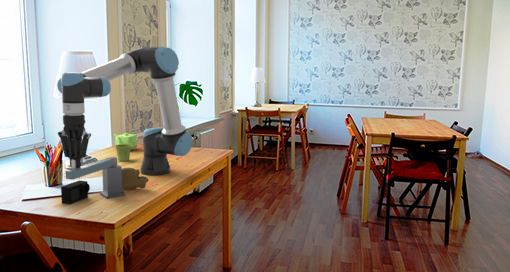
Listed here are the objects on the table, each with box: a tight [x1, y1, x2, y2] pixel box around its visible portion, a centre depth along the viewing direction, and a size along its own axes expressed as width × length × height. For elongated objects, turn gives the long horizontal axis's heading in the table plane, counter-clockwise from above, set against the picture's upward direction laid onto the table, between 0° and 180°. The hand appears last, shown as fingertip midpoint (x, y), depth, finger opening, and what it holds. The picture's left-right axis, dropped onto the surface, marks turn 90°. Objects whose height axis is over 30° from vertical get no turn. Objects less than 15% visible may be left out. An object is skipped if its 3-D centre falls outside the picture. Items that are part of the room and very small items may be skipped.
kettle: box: [112, 132, 139, 151], centre depth 274 cm, size 15×14×11 cm
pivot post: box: [99, 164, 126, 199], centre depth 181 cm, size 8×8×12 cm
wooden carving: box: [121, 167, 149, 191], centre depth 189 cm, size 16×5×10 cm, turn 98°
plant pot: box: [114, 144, 132, 162], centre depth 245 cm, size 9×9×9 cm
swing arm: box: [65, 156, 118, 181], centre depth 169 cm, size 27×4×3 cm, turn 162°
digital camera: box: [60, 179, 91, 205], centre depth 173 cm, size 10×5×7 cm, turn 162°
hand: (75, 175), depth 162 cm, fingers closed
